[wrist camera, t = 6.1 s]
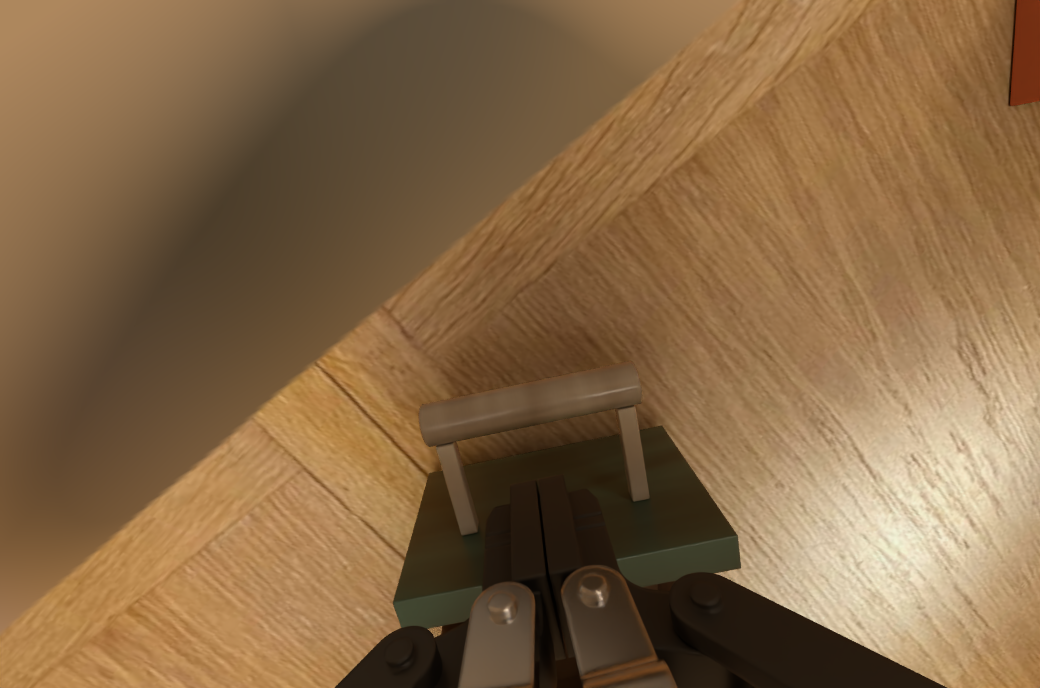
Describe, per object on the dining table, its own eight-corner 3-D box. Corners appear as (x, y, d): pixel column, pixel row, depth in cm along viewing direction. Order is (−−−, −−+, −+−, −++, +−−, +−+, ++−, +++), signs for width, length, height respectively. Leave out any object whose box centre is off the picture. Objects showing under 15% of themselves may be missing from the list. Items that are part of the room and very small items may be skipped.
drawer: (398, 369, 20) (340, 459, 13) (646, 317, 20) (722, 381, 13) (492, 683, 25) (487, 869, 18) (693, 645, 25) (767, 820, 18)
